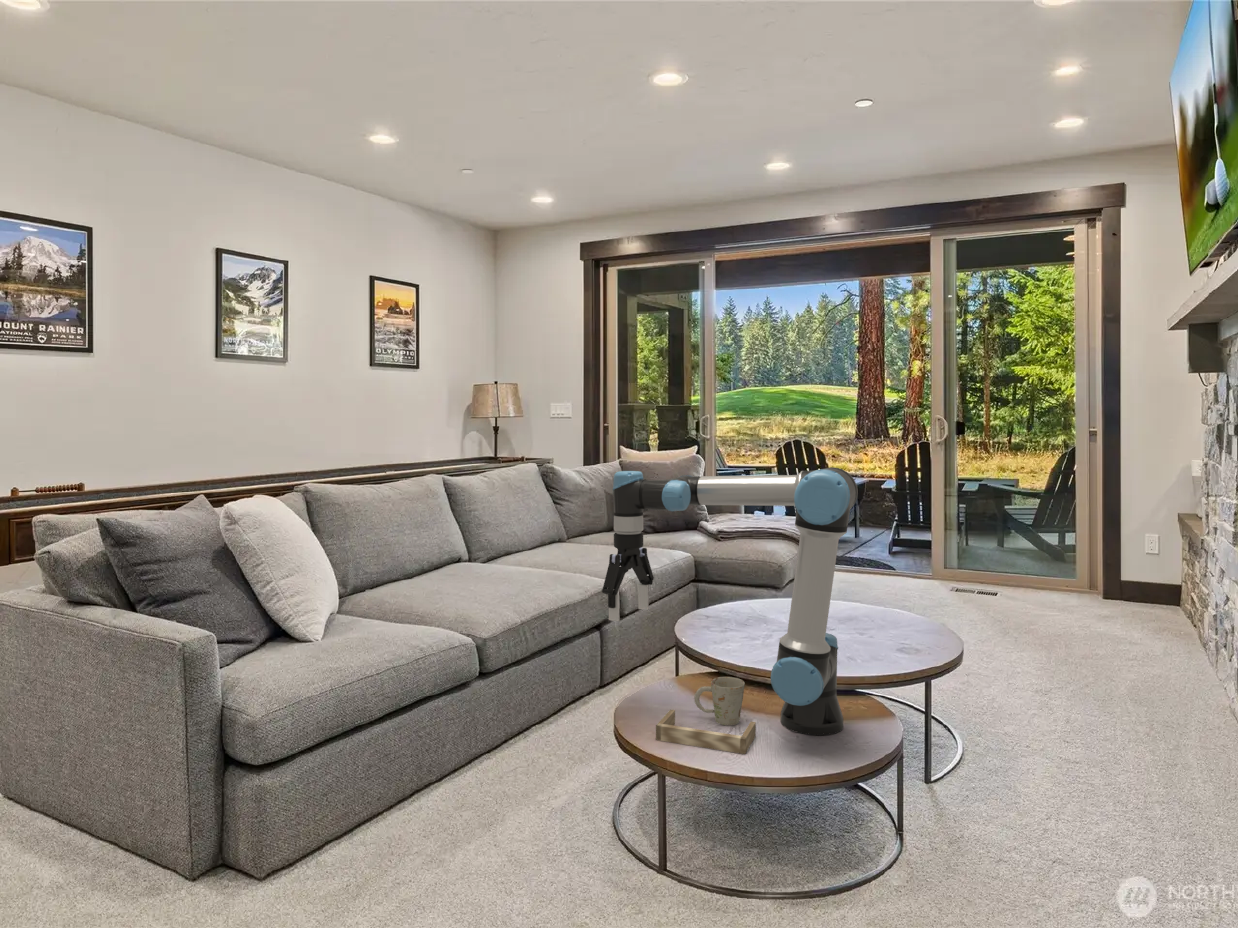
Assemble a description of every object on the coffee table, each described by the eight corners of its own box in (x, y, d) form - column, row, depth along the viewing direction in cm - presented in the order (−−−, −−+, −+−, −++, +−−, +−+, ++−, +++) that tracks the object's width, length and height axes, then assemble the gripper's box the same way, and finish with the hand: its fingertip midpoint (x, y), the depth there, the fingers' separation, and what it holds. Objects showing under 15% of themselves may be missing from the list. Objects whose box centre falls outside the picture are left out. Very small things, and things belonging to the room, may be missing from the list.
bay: (755, 736, 194) (755, 721, 194) (745, 754, 184) (745, 739, 184) (670, 723, 202) (670, 709, 202) (655, 739, 192) (656, 725, 191)
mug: (743, 728, 199) (743, 688, 198) (692, 724, 201) (692, 685, 200) (744, 716, 207) (745, 677, 206) (695, 712, 209) (696, 674, 209)
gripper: (642, 525, 218) (642, 603, 219) (587, 537, 197) (588, 623, 198) (666, 527, 214) (666, 606, 215) (612, 539, 193) (613, 627, 194)
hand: (629, 614), depth 207 cm, fingers open, 13 cm apart
